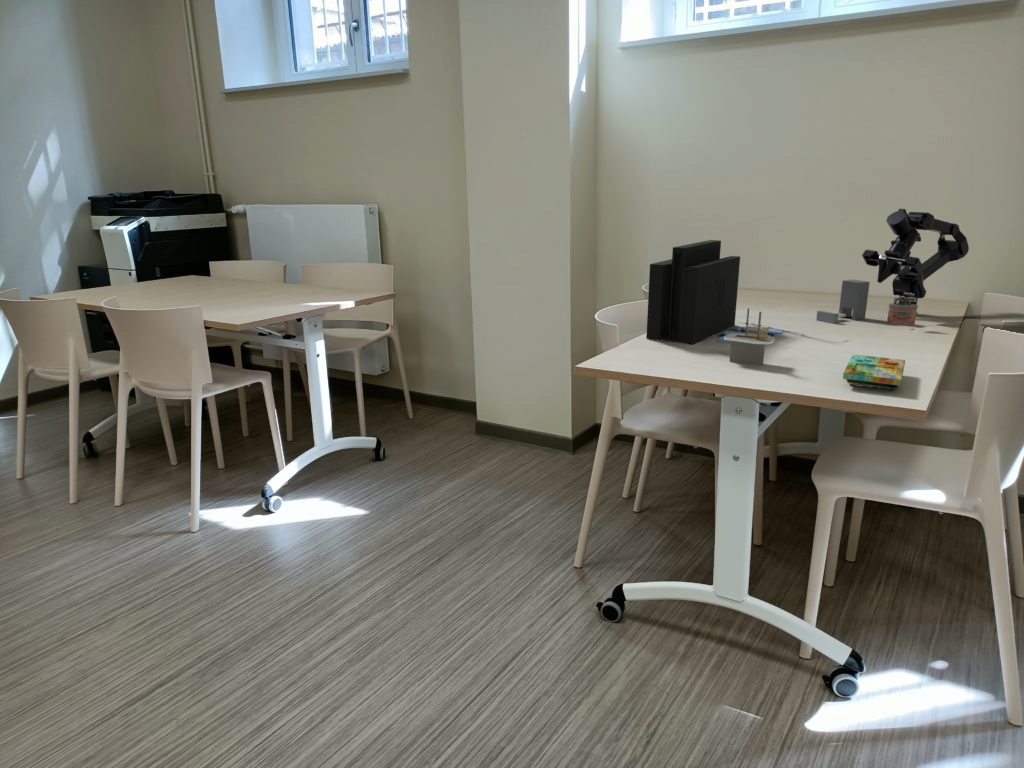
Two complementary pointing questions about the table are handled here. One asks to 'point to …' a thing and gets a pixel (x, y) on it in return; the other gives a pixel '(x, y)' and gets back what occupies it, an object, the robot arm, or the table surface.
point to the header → (828, 316)
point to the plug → (854, 298)
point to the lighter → (902, 311)
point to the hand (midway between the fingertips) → (878, 282)
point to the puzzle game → (874, 371)
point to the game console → (694, 295)
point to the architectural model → (749, 344)
